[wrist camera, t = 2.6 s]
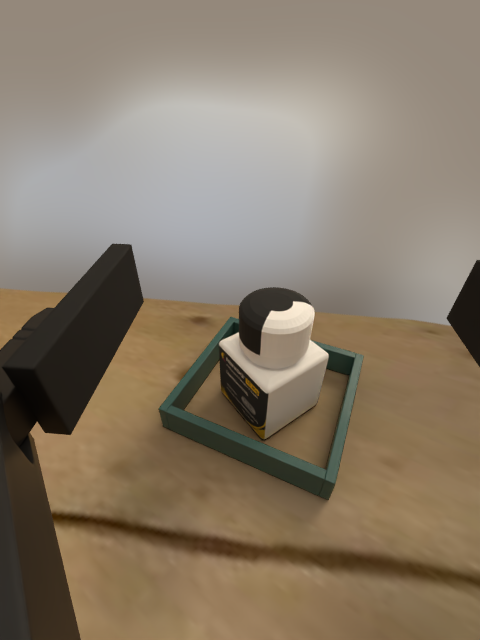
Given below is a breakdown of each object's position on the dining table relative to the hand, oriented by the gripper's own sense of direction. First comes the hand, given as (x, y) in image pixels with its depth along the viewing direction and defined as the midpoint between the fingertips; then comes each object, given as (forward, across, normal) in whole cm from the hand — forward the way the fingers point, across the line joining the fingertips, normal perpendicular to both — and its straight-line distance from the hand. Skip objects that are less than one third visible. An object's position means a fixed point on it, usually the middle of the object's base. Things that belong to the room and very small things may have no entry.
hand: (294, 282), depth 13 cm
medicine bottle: (+10, 0, -20) cm, 22 cm away
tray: (+10, 0, -20) cm, 22 cm away
